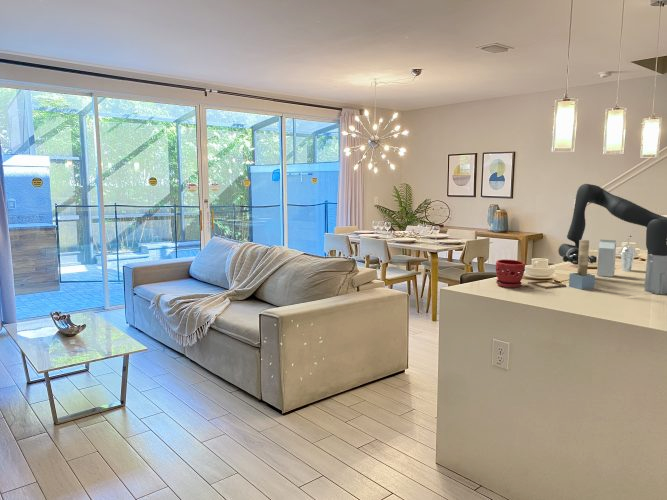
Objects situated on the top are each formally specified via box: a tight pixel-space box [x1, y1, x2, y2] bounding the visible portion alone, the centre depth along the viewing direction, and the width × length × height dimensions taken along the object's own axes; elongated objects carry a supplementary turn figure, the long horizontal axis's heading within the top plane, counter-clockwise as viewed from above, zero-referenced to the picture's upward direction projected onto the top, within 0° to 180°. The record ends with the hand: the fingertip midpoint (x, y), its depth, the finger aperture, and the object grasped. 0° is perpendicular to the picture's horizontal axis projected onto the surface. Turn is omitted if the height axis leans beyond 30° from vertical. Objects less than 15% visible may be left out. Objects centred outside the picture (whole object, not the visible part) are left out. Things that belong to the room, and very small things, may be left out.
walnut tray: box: [527, 279, 567, 290], centre depth 235 cm, size 12×12×2 cm
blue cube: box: [568, 272, 596, 291], centre depth 229 cm, size 7×7×7 cm
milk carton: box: [596, 239, 617, 278], centre depth 260 cm, size 7×7×19 cm
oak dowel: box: [576, 239, 590, 276], centre depth 228 cm, size 4×4×22 cm
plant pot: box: [495, 259, 526, 289], centre depth 237 cm, size 13×13×12 cm
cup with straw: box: [618, 235, 637, 272], centre depth 274 cm, size 8×9×20 cm
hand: (582, 260), depth 230 cm, fingers open, 8 cm apart
